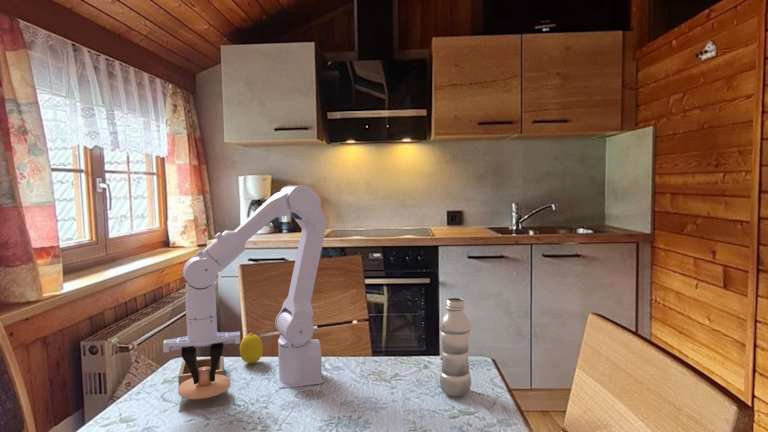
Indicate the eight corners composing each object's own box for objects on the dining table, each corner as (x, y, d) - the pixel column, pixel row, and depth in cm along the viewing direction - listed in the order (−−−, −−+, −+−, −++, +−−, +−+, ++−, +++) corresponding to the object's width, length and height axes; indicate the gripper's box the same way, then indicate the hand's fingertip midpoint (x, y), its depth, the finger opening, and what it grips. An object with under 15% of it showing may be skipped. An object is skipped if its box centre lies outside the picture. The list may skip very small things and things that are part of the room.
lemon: (257, 369, 110) (256, 337, 110) (235, 368, 112) (234, 336, 111) (267, 361, 116) (266, 330, 115) (247, 359, 117) (246, 329, 116)
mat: (227, 388, 101) (227, 386, 101) (227, 406, 92) (227, 404, 92) (183, 394, 98) (183, 392, 98) (178, 414, 89) (178, 412, 89)
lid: (230, 375, 101) (230, 357, 101) (230, 394, 92) (229, 375, 91) (181, 381, 98) (180, 363, 98) (175, 402, 89) (174, 382, 88)
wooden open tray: (224, 370, 110) (223, 356, 110) (223, 385, 102) (222, 370, 101) (183, 375, 107) (182, 361, 107) (178, 391, 99) (178, 376, 99)
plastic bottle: (477, 392, 97) (477, 299, 96) (459, 404, 92) (459, 305, 91) (451, 384, 101) (451, 294, 100) (433, 394, 96) (433, 300, 95)
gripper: (238, 307, 100) (241, 368, 101) (165, 314, 95) (168, 378, 96) (239, 316, 93) (241, 381, 94) (160, 324, 89) (163, 392, 90)
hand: (204, 380), depth 95 cm, fingers closed on lid, 3 cm apart
